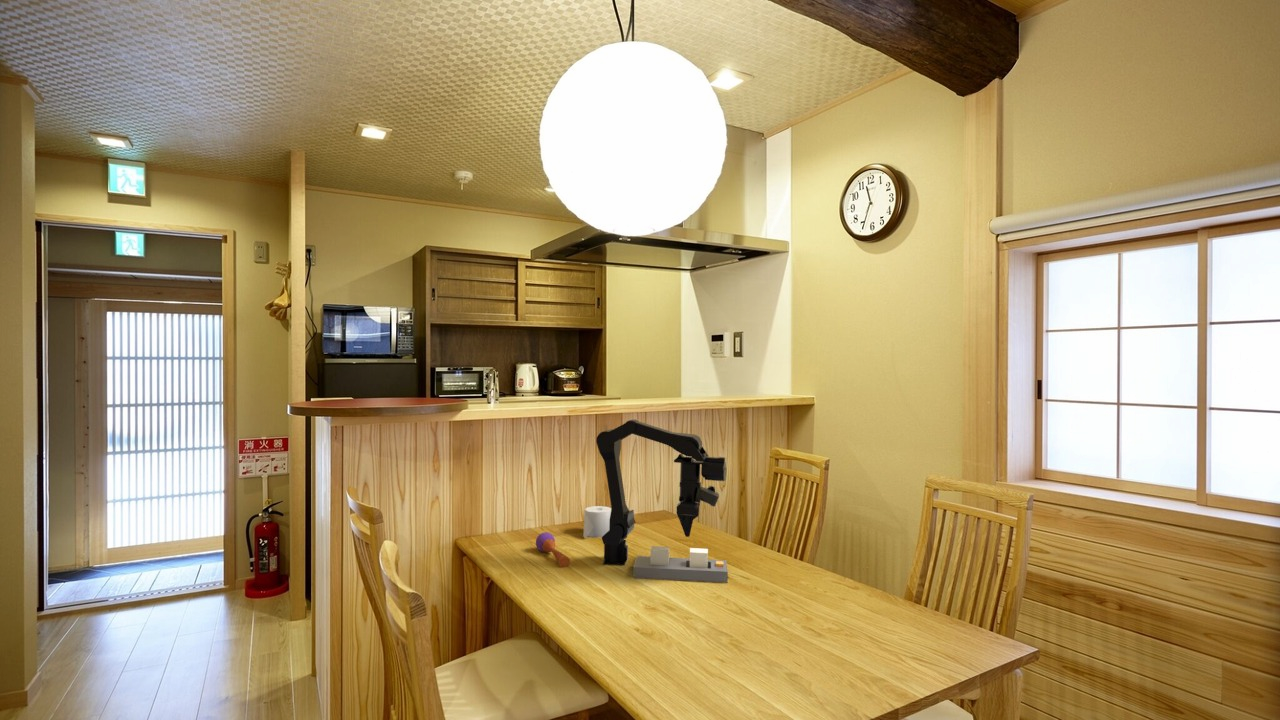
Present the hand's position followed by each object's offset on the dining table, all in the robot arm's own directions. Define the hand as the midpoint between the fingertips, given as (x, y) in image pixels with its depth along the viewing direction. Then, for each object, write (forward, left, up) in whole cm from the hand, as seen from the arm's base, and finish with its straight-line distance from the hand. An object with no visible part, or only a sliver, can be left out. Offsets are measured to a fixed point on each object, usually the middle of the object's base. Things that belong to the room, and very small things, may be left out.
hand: (688, 532), depth 180 cm
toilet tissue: (-33, +32, -11) cm, 47 cm away
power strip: (-2, -4, -11) cm, 12 cm away
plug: (+3, -4, -11) cm, 12 cm away
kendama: (-41, +5, -11) cm, 43 cm away
